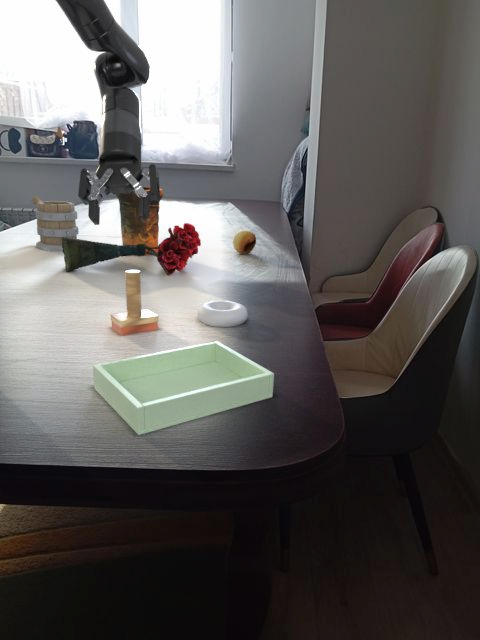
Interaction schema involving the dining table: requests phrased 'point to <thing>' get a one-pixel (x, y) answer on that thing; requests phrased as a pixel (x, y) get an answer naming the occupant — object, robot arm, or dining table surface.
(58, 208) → the tankard
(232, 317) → the donut
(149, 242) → the vessel
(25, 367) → the dining table surface
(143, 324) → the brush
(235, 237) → the fruit
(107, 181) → the robot arm
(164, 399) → the tray
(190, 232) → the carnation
